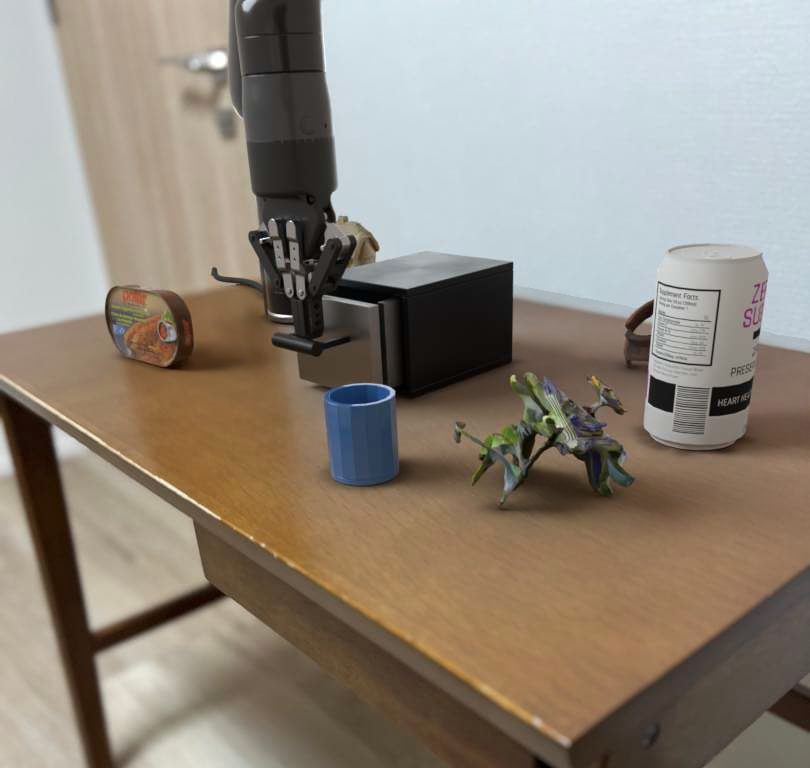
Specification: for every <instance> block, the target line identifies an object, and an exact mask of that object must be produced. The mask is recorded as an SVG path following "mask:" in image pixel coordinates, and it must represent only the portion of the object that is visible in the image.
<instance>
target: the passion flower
mask: <svg viewBox="0 0 810 768" xmlns="http://www.w3.org/2000/svg"><path fill="white" fill-rule="evenodd" d="M516 377H517V376H516V374H512V375H511V376H510V388H511V390H512V392H513V393H514V394H515V395H517V396H518V397H519V398H520V399H521V400H522V403H523V405H524V411H523V417H522V419H520V421H518V425H514V424H513V423H512V424H506V425H505V426H504V427H503V429H502V430H501V432H493V433H490V434H488V435H487V436H486V437H485V439H484V441H483V442H482V440H480V439H479V438H477V437H475V436H473V435H471V434H470V433H468V431H465V430H464V429H465V427H466V426H467V423H466V422H465V421H462V420H460V419H458V420H457V421H455V422H454V425H455V427H454V433H453V440H454V442H455V443H456V444H460V443H461V441H462V440H461V437H462V435H463V436H465V437H466V438H468V439H470V440H471V441H472V442H474V443H476V444H477V445H479V446H481V450H480V453H479V454H478V457H477V459H478V460H479V461H481V464H480V466H479V467H478V468H477V469H476V471H475V472H474V474H473V475H472V477H471V484H470V486H472V487H474V486H475V485H476V484H477V483H478V481H480V479H481V478H482V476H483V474H485V472H487V470H488V469H489V468H491V467H493V466H494V465H495V464H496V463H497V461H499V462H501V463H502V464H503V465H504V475H503V484H504V485H503V490H502V494H501V497H500V500H499V502H498V503H497V505H496V508H497V509H498V510H499V509H500V508H501V506H502V505H504V503H505V502H506V500H507V499H508V497H509V496H510V494H512V492H513V491H516V490H518V489H519V488H520V486H522V485H523V484H525V481H526V480H527V479H528V478H529V470H530V469H531V468H533V466H534V464H535V462H536V461H538V459H539V458H540V457H541V455H542V454H543V453H544V452H546V451H548V450H549V449H551V448H555V449H557V450H558V453H559V454H560V455H561V456H566V455H573V457H575V458H576V459H577V460H579V461H581V462H584V466H585V469H586V473H587V481H588V484H589V486H590V487H591V489H592V491H593V492H594V493H595V494H598V495H603V496H604V497H608V498H609V499H612V498H614V495H615V493H614V492H613V489H612V487H611V486H610V485H609V484H610V479H611V480H612V482H614V483H615V484H617V485H619V486H620V487H624V488H629V487H630V486H632V485H633V483H634V482H635V480H636V477H635V476H633V475H632V474H630V473H629V472H628V471H627V470H626V469H625V468H624V467H623V466H624V464H625V463H626V461H627V459H628V455H627V452H626V451H625V450H624V445H623V444H620V443H619V441H618V440H616V439H614V438H612V436H610V434H608V433H607V432H606V431H605V430H604V428H605V427H607V425H608V423H607V422H605V421H604V422H602V421H600V420H599V419H598V418H596V415H595V414H596V412H597V411H598V409H600V408H601V407H609V408H611V409H612V410H613V412H614V413H615V414H617V415H619V416H623V415H625V413H628V409H626V408H624V407H623V404H622V402H621V401H620V399H619V397H617V395H616V394H615V392H614V388H612V387H610V386H608V385H607V384H605V383H604V382H603V381H602V380H601V379H599V378H597V376H594V375H592V374H587V375H586V381H587V383H588V384H589V385H590V387H591V388H592V389H593V390H594V391H595V393H596V394H597V398H596V399H595V402H593V404H592V405H588V406H586V405H578V404H577V403H576V402H575V401H573V399H572V398H571V397H570V396H568V395H567V394H566V393H564V391H563V390H562V389H561V390H560V389H559V388H558V387H557V386H556V384H555V383H554V381H553V380H549V378H547V376H543V381H544V383H543V382H540V380H539V379H538V377H537V376H536V375H535V374H534V373H533V372H527V371H526V372H525V374H524V375H523V383H524V385H523V384H522V383H520V382H518V381H517V380H516ZM537 435H539V436H541V437H544V438H547V440H545V441H544V442H543V443H542V445H541V446H540V447H539V448H538V449H537V451H535V453H534V454H533V449H534V446H535V444H536V436H537ZM508 454H510V455H511V456H512V462H511V461H509V460H507V458H506V457H505V456H506V455H508ZM532 454H533V455H532Z"/></svg>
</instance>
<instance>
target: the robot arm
mask: <svg viewBox="0 0 810 768" xmlns="http://www.w3.org/2000/svg"><path fill="white" fill-rule="evenodd" d="M323 6H324V0H228V32H227V79H228V80H227V82H228V90H229V96H230V100H231V104H232V107H233V109H234V111H235V113H236V115H237V116H238V117H239V118H241V120H243V127H244V134H245V144H246V152H247V161H248V169H249V177H250V186H251V191H252V193H253V195H254V198H255V199H254V200H255V206H256V215H257V222H258V224H257V225H258V228H257V229H255V230H249V232H248V234H247V237H248V238H247V239H248V241H249V244H250V245H251V247H252V249H253V251H254V253H255V254H256V256H257V258H258V264H259V272H260V280H261V283H259V282H258V281H255V280H252V279H249V278H245V277H244V278H243V277H233V276H224V275H219V272H218V268H217V267H215V266H213V267H212V268H211V272H210V273H211V274H210V276H211V277H213V279H214V280H216V281H218V282H222V283H226V284H227V283H228V284H237V285H246V286H250V287H251V288H254V289H256V290H257V291H259V292H260V293H262V296H263V307H264V314H265V316H268V319H269V320H270V321H273V322H276V323H282V324H292V325H293V329H294V332H295V334H296V336H297V337H301V338H306V339H310V340H312V339H316V338H319V337H321V336H322V335H323V331H324V316H323V305H322V297H323V295H324V294H325V293H327V292H329V291H332V290H336V289H337V287H338V285H339V283H340V281H341V278H342V276H343V274H344V272H345V270H346V268H347V265H348V263H349V261H350V259H351V257H352V255H353V253H354V250H355V248H356V246H357V240H356V238H355V236H354V235H346V236H345V235H344V234H343V233H342V232H341V231H340V229H339V228H338V227H337V226H336V221H337V214H336V212H335V208H334V206H333V203H332V194H333V193H334V192H336V191H337V189H338V188H339V176H338V165H337V164H338V162H337V152H336V138H335V137H336V136H335V124H334V111H333V101H332V95H331V91H330V86H329V79H328V74H327V72H326V71H327V59H326V47H325V35H324V17H323V15H324V14H323V12H324V8H323Z"/></svg>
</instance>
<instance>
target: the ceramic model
mask: <svg viewBox="0 0 810 768" xmlns="http://www.w3.org/2000/svg"><path fill="white" fill-rule="evenodd" d="M336 226H337V227H338V228H339V229H340V231H341V232H342V233H343V234H344V235H345V236H346V235H354V236H355V238H356V240H357V246H356V248H355V250H354V253H353V255H352V257H351V259H350V261H349V263H348V265H347V268H346V269H348V268H353V267H357V266H362V265H366V264H371V263H375V262H377V261H376V258H377V252H380V245H379V242H378V240H377V239H376V238H375V237H374V235H373V233H372V232H370V231H369V230H368V229H366V228H365V227H364V226H363V225H362V224H361V222H357V221H354V220H349V216H347V215H338V216H337V220H336Z"/></svg>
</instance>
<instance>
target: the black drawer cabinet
mask: <svg viewBox="0 0 810 768" xmlns="http://www.w3.org/2000/svg"><path fill="white" fill-rule="evenodd" d="M338 286H344V287H350V288H355V289H361V290H367V291H373V292H378V293H384V294H390V295H396V296H401V297H402V305H403V327H404V348H405V370H406V383H405V384H402V385H399V386H397V387H394V388H392V389H394V390H395V392H396V396H397V395H398V396H401V397H404V398H407V399H411V400H413V399H416V398H419V397H422V396H424V395H426V394H429V393H432V392H435V391H437V390H440V389H443V388H446V387H448V386H451V385H454V384H456V383H459V382H462V381H464V380H467V379H469V378H472V377H475V376H478V375H481V374H484V373H486V372H490V371H491V370H494V369H498V368H500V367H502V366H505V365H509V364H510V363H513V344H514V343H513V342H514V341H513V337H514V336H513V335H514V334H513V332H514V328H513V327H514V261H512V260H511V261H510V260H502V259H494V258H487V257H485V258H484V257H477V256H470V255H461V254H454V253H453V254H452V253H446V252H444V253H443V252H436V251H429V250H425V251H420V252H416V253H410V254H407V255H402V256H397V257H394V258H388V259H384V260H380V261H375V263H371V264H366V265H362V266H357V267H353V268H348V269H346V270H345V272H344V274H343V276H342V278H341V281H340V283H339V285H338Z"/></svg>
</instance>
